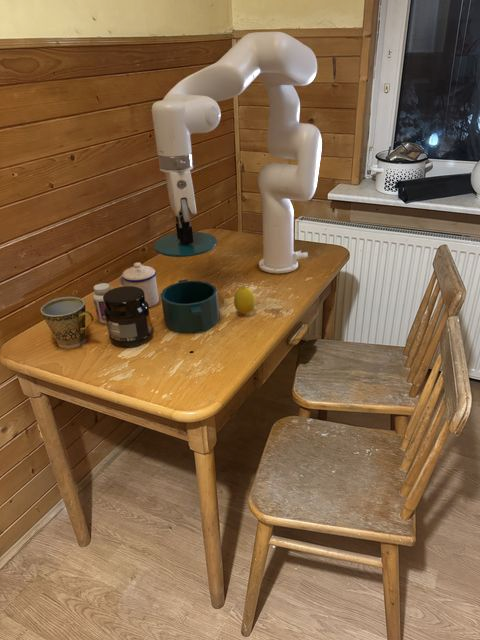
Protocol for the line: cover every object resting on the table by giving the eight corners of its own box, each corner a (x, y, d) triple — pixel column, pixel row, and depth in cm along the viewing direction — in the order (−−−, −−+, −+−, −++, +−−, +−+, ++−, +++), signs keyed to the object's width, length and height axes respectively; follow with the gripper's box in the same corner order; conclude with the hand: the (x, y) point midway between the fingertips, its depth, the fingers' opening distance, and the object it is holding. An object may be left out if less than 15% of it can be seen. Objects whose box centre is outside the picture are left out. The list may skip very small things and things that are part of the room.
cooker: (210, 300, 143) (208, 273, 139) (227, 332, 127) (225, 304, 123) (160, 308, 139) (156, 281, 135) (171, 342, 123) (166, 313, 119)
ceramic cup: (42, 348, 122) (31, 312, 117) (68, 329, 130) (59, 294, 125) (86, 358, 119) (77, 320, 113) (111, 337, 126) (103, 301, 121)
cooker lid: (209, 233, 131) (207, 209, 128) (224, 253, 119) (222, 228, 116) (151, 241, 128) (147, 217, 125) (159, 263, 116) (155, 237, 112)
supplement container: (153, 325, 131) (146, 282, 125) (153, 346, 122) (145, 301, 116) (111, 329, 130) (102, 286, 123) (108, 351, 121) (98, 306, 114)
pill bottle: (122, 316, 136) (116, 283, 131) (111, 325, 132) (104, 291, 126) (105, 313, 137) (98, 280, 132) (94, 322, 133) (86, 289, 128)
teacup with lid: (166, 298, 144) (161, 260, 138) (146, 312, 137) (139, 272, 131) (133, 291, 149) (127, 253, 143) (112, 303, 142) (104, 265, 136)
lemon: (234, 310, 137) (233, 283, 133) (255, 309, 137) (254, 282, 133) (235, 320, 132) (233, 292, 128) (256, 318, 133) (255, 291, 128)
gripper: (199, 168, 107) (207, 250, 117) (185, 153, 120) (194, 228, 130) (164, 172, 105) (175, 255, 115) (154, 156, 118) (165, 232, 128)
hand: (185, 240), depth 123 cm, fingers closed on cooker lid, 2 cm apart
